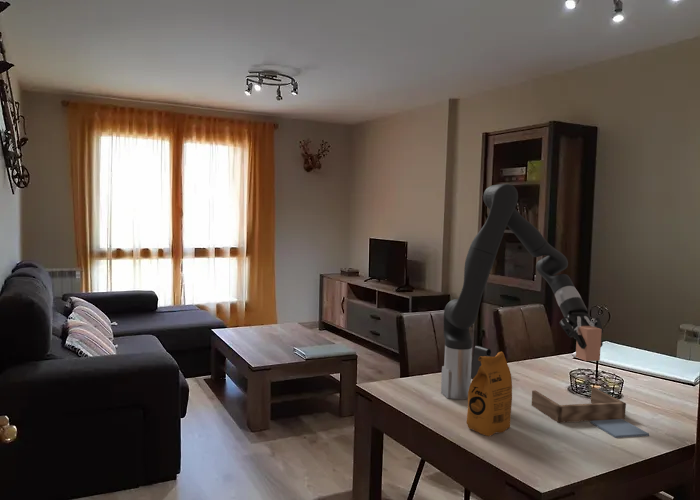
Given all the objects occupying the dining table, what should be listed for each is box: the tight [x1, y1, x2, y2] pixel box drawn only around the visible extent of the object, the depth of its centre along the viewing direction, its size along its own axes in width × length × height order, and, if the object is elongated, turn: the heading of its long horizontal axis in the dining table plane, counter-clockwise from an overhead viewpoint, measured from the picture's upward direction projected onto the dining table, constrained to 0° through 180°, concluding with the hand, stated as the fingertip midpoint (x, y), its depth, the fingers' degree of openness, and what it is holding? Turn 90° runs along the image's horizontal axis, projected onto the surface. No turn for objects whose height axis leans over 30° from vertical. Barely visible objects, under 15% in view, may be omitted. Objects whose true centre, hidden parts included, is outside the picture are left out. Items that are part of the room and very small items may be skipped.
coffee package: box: [465, 351, 513, 437], centre depth 152 cm, size 10×12×22 cm
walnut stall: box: [531, 387, 627, 424], centre depth 167 cm, size 23×15×5 cm, turn 101°
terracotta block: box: [575, 326, 603, 362], centre depth 164 cm, size 5×5×10 cm
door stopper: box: [471, 345, 492, 380], centre depth 201 cm, size 9×6×12 cm, turn 124°
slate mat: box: [589, 419, 650, 439], centre depth 154 cm, size 11×11×1 cm
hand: (592, 347), depth 162 cm, fingers closed on terracotta block, 5 cm apart
